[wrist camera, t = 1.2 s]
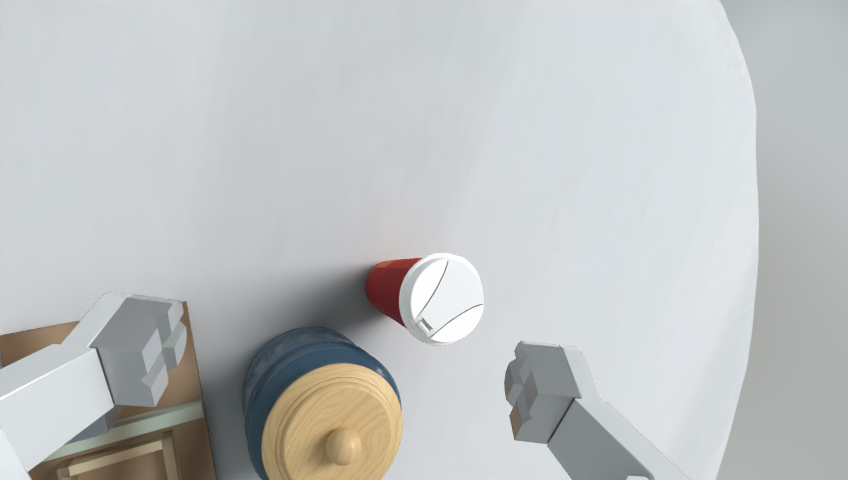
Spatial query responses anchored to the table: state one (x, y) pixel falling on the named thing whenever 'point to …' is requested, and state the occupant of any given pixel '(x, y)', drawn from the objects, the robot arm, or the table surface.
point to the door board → (132, 425)
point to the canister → (320, 409)
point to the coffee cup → (429, 296)
